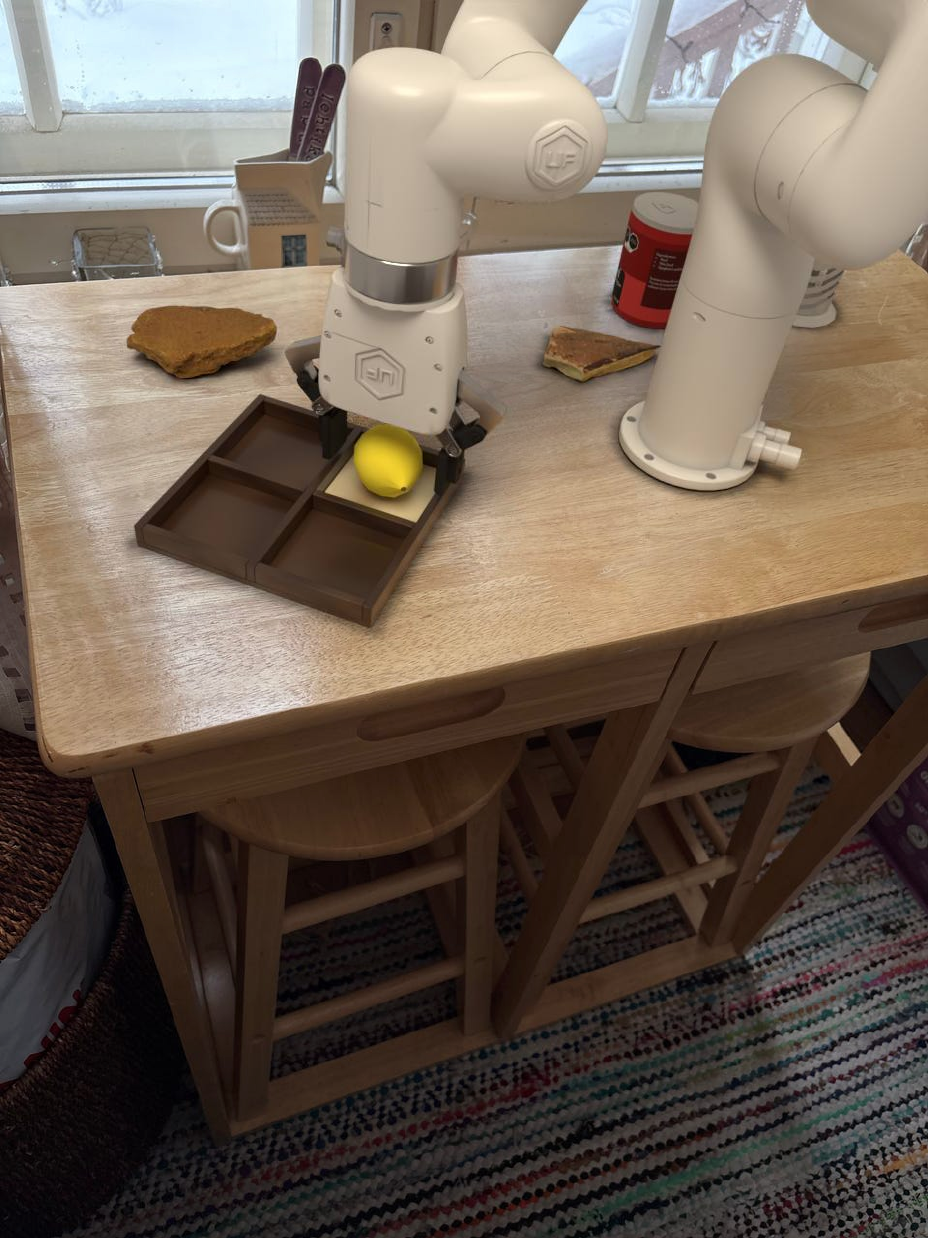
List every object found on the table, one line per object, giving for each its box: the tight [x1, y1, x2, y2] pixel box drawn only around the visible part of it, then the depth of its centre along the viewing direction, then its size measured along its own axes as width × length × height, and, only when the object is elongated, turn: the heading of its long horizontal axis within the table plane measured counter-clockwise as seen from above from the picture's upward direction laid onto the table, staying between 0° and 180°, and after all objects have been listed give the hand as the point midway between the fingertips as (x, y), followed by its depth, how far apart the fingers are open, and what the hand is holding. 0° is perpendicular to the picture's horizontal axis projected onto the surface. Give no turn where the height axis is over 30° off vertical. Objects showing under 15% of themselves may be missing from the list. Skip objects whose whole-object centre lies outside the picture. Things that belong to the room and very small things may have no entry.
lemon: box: [353, 423, 423, 497], centre depth 77 cm, size 7×5×5 cm
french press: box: [792, 64, 879, 329], centre depth 100 cm, size 10×12×25 cm
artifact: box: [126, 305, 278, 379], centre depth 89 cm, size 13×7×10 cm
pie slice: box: [542, 325, 661, 383], centre depth 95 cm, size 11×8×2 cm
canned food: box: [610, 191, 699, 329], centre depth 101 cm, size 8×8×11 cm
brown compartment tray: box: [133, 393, 467, 629], centre depth 77 cm, size 19×19×2 cm
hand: (389, 467), depth 78 cm, fingers open, 9 cm apart
